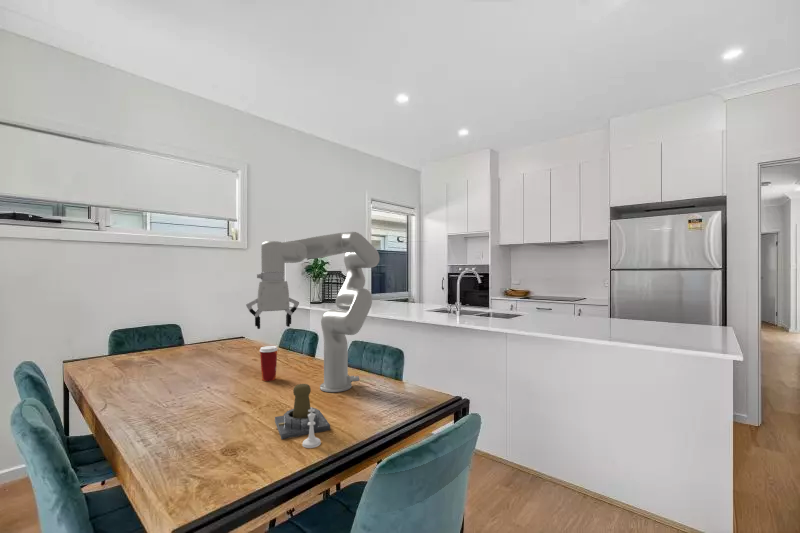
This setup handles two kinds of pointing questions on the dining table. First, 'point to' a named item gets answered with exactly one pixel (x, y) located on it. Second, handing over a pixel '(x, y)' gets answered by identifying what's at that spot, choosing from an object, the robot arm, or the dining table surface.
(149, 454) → the dining table surface
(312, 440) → the chess piece
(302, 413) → the olive game pawn
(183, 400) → the dining table surface
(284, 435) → the socket
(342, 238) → the robot arm
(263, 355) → the paper cup
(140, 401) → the dining table surface
